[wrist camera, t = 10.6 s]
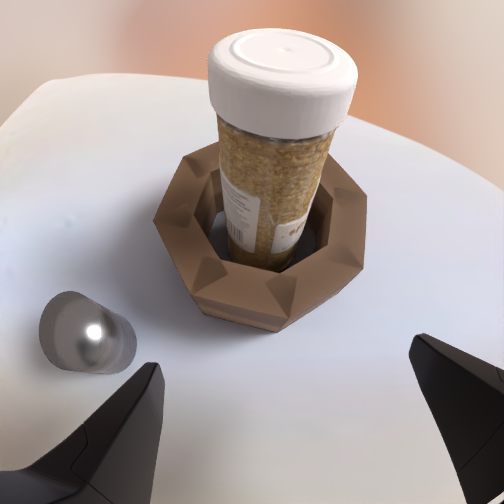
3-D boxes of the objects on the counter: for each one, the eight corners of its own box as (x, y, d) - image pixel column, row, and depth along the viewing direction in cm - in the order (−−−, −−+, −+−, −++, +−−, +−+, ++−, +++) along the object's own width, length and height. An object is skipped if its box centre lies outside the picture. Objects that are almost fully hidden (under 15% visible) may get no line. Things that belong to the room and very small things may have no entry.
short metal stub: (97, 383, 15) (53, 381, 10) (76, 328, 16) (31, 311, 12) (146, 358, 16) (112, 350, 11) (121, 302, 17) (85, 277, 13)
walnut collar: (230, 360, 16) (225, 356, 12) (153, 218, 20) (134, 180, 16) (372, 268, 18) (402, 239, 14) (282, 157, 22) (289, 115, 18)
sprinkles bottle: (301, 274, 18) (386, 95, 6) (229, 280, 18) (204, 90, 6) (289, 212, 20) (333, 28, 8) (224, 217, 20) (206, 25, 8)
